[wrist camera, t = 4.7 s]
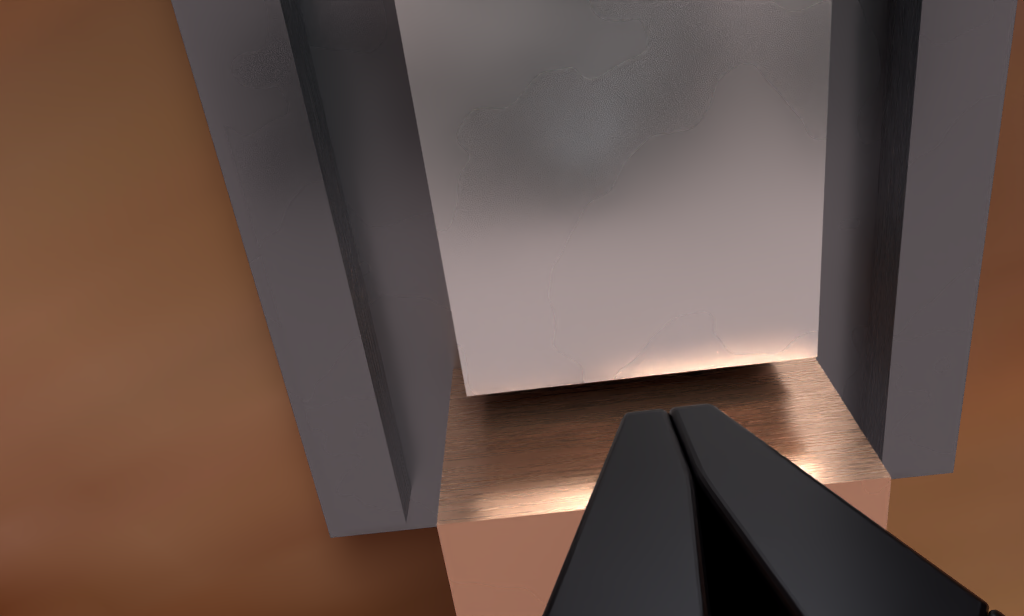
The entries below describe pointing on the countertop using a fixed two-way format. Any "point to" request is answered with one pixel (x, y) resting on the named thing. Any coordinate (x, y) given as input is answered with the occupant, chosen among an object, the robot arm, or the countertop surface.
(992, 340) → the countertop surface
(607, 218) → the bar
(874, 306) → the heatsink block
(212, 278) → the countertop surface
